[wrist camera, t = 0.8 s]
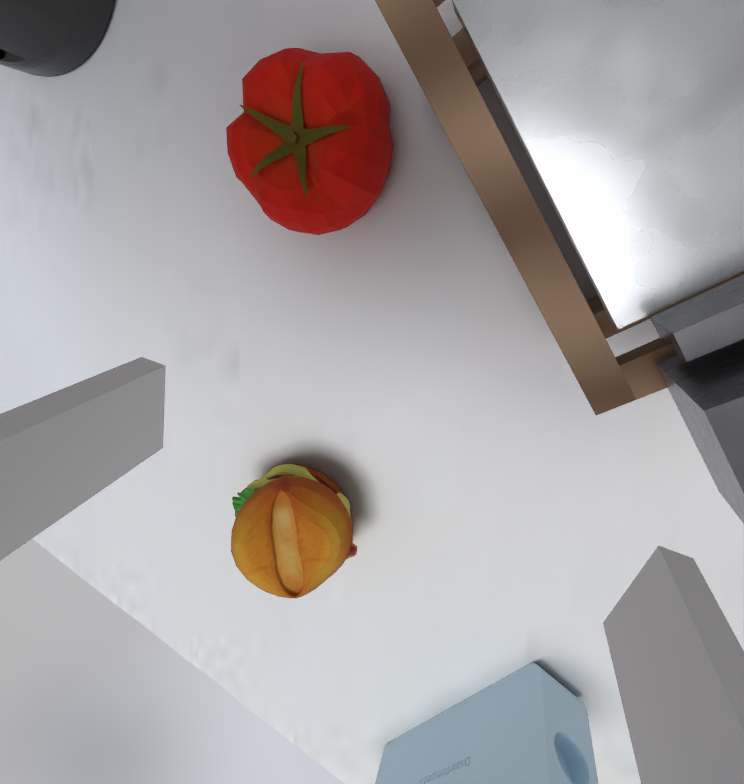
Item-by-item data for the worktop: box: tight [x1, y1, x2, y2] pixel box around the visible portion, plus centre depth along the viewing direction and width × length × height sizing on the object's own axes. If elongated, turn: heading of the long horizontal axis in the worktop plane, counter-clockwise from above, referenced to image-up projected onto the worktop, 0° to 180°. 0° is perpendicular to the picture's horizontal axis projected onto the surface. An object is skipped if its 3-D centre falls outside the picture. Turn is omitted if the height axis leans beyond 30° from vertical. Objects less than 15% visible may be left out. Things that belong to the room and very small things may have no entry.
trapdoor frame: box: [375, 0, 744, 415], centre depth 18 cm, size 17×17×12 cm
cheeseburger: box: [231, 464, 357, 598], centre depth 36 cm, size 10×11×10 cm
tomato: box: [226, 48, 393, 235], centre depth 25 cm, size 9×9×8 cm
